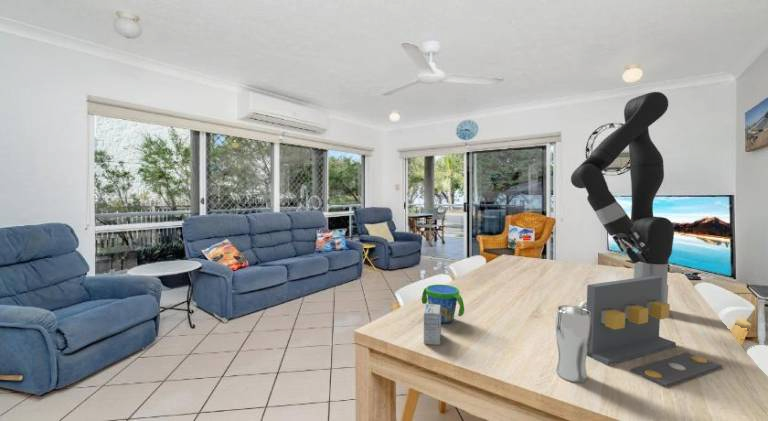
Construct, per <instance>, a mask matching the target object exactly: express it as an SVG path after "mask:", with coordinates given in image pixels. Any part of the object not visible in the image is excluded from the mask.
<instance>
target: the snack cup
mask: <svg viewBox="0 0 768 421" xmlns="http://www.w3.org/2000/svg"><path fill="white" fill-rule="evenodd" d="M422 291H423V292H422V295H421V303H422V304H423V305H425V304H436V305H441V324H449V323H452V322H453V320H454V318H455V313H456V309H457V308H456V307H457V303H458V305H459V310H458V313H457V314H458V315H457V316H458V317H462V316H463V315H464V313H465V305H464V304H465V303H464V300H463V297H462V296H461V294H460V290H459V288H458V287H456V286H453V285H449V284H430V285H428V286H426V287H425V288H424V289H423V290H422Z"/></svg>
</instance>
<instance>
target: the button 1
mask: <svg viewBox="0 0 768 421" xmlns="http://www.w3.org/2000/svg"><path fill="white" fill-rule="evenodd" d="M577 307H581V308H584V309H587V300H583V301H581V302H580V303H579V304H578V306H577ZM601 323H603V324H605V326H607V327H609V328H612V329H615V330H616V329H620V328H625V313H624V312H620V311H617V310H609V309H603V310H601Z"/></svg>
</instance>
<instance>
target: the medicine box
mask: <svg viewBox="0 0 768 421" xmlns="http://www.w3.org/2000/svg"><path fill="white" fill-rule="evenodd" d="M441 335H442V323H441V305H436V304H428V303H426V306H425V309H424V313H423V344H424V345H430V346H431V345H433V346H440V345H441V337H442V336H441Z"/></svg>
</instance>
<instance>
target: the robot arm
mask: <svg viewBox="0 0 768 421" xmlns="http://www.w3.org/2000/svg"><path fill="white" fill-rule="evenodd" d="M668 108H669V99H668V97H667V96H666V95H665V94H664V93H663V92H661V91H652V92H651V91H650V92H648V93H645V94H642V95H639V96H636V97H634V98H631V99H630V100H628V101H627V103H626V104H625V106H624V110H623V117H624V124H622V125H621V126H619V127H618V128H616V129H615V130H614V131H612V133H610V134H609V135H607V136H606V137H605V138H604V139H603V140H602V141H601V142H600V143H599V144H598V146H597V147H596V148H594V149H593V151H592V152H591V153H590V155H589V156H588V157H587V158H586V159H585V160H584V161H583V162H582V163H581V164H579V165H578V167H577V168H576V169H575V170H574V171H573V172H572V174H571V175H570V176H571V177H570V182H571V184H572V186H574V187H575V188H578V189H585V190H586V191H587V192H586V193H587V194H588V195H587V197H586V198H587V202H588V203H589V205H590V206H591V208H592V210H593V211H594V212H595V214H596V217H597V218H598V220H599V221H600V223H601V224H602V226H603V227H604V229H605V231H606V233H608V234H609V236H611V237H612V239H613V241H614V242H615V244H616V246H617V247H618V248H619V251H621V252H622V253H625V254H626V255H627V256H628V258H629V259H630V260H631V263H633V265H634V267H633V268H634V269H633V278H640V277H648V276H658V277H662V288H661V302H663V303H667V304H668V298H669V284H668V272H669V259H670V258H671V255H672V253H673V246H674V236H675V229H674V225H673V222H672V220H670V219H669V218H666V217H663V216H654V210H653V209H654V206H653V204H654V200H655V197H656V195H657V193H658V191H659V189H660V188H661V186H662V183H663V182H664V178H665V171H664V170H665V166H664V158H663V156H662V154H661V152H660V150H659V149H658V147H656V145H655V144H654V142H653V140H652V139H651V135H650V132H649V130H650V129H649V127H650V126H652V125H653V124H654V123H655V122H656V121H658V120H659V119H660V118H661V117H663V115H665V113H666V112H667V110H668ZM627 147H628V152H629V171H630V185H631V211H630V217H629V215H628V213H627V212H626V211H625V208H624V207H622V205H621V204H620V203H619V202H618V201H617V199H616V198H615V196H614V195H613V194H612V192H611V190H609V186H608V183H607V181H606V178H605V176H604V174H603V171H604V170H605V169H606V168H608V167H609V166H611V164H613V163H614V161H615V160H616V159H617V158H618V157H619V156H620V155H621V153H622V152H624V151H625V149H626V148H627ZM635 250H636V251H635Z"/></svg>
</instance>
